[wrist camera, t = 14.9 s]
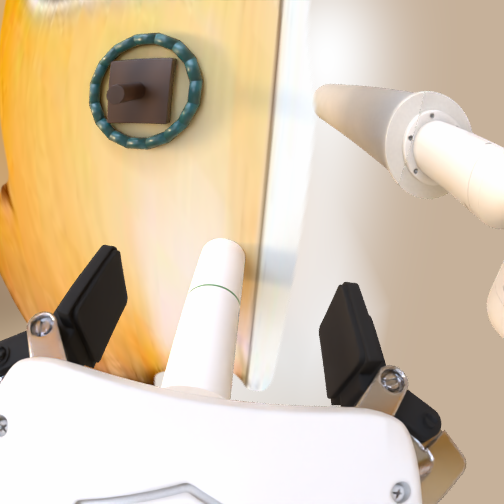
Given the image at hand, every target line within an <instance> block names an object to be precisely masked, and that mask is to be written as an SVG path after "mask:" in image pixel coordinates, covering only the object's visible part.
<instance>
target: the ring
mask: <svg viewBox="0 0 504 504" xmlns="http://www.w3.org/2000/svg"><path fill="white" fill-rule="evenodd" d="M145 44H157V45H160V46H163V47H165V48H168V49H170V50H172V51H173V52H174V53H175V54H176V55H177V56H178V57H179V58H180V59H181V60H182V62H183V63H184V64H185V67H186V71H187V74H188V77H189V81H190V85H189V94H188V102H187V104H186V106H185V107H184V109H183V111H182V113H181V115H180V117H179V119H178V120H177V121H176V122H174V123H173V124H172V125H171V126H170V127H169V128H168V129H167V130H165V131H164V132H162V133H159V134H156V135H154V136H151V137H148V138H138V137H129V136H127V135H125V134H123V133H121V132H119V131H117V130H115V129H114V127H113V126H112V125H111V124H110V123H107V119H106V118H105V116H104V113H103V110H102V107H101V104H100V87H101V82H102V80H103V77H104V75H105V73H106V70H107V68H108V66H109V65H110V64H111V61H114V60H115V59H116V58H117V57H118V56H119V55H120V54H121V53H122V52H124V51H126V50H128V49H130V48H132V47H134V46H136V45H145ZM202 83H203V79H202V76H201V72H200V69H199V66H198V62H197V59H196V57H195V56H194V55H193V54H192V53H191V51H190V50H189V49H188V48H187V47H186V46H185V45H184V44H183V43H182V42H181V41H180V40H177V39H175V38H172V37H169V36H167V35H164V34H161V33H148V34H137V35H134V36H132V37H130V38H128V39H126V40H124V41H122V42H120V43H118V44H116V45H114V46H113V47H112V49H111V50H110V51H109V52H108V53H107V54H106V55H105V56H104V57H103V58H102V59H101V61H100V62H99V63H98V65H97V68H96V70H95V73H94V75H93V77H92V80H91V82H90V96H89V106H90V109H91V112H92V115H93V118H94V121H95V123H96V125H97V126H98V127H99V129H100V130H101V131H102V132H103V133H104V134H105V135H106V137H107V138H108V139H109V140H111V141H113V142H115V143H117V144H119V145H121V146H124V147H126V148H132V149H151V148H154V147H156V146H159V145H162V144H165V143H168V142H170V141H171V140H172V139H174V138H175V137H176V136H177V135H178V134H179V133H181V132H182V131H183V130H184V129H185V128H186V127H188V125H189V123H190V122H191V120H192V118H193V116H194V114H195V112H196V111H197V109H198V107H199V105H200V99H201V91H202Z"/></svg>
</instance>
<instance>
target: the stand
mask: <svg viewBox="0 0 504 504" xmlns="http://www.w3.org/2000/svg"><path fill="white" fill-rule="evenodd" d="M175 65H176V59H174V58H152V59H133V60H121V61H111V66H110V77H109V89H108V91H107V100H108V114H107V123H154V124H167V123H169V122H170V110H171V100H172V90H173V81H174V72H175Z"/></svg>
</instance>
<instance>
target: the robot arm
mask: <svg viewBox="0 0 504 504" xmlns="http://www.w3.org/2000/svg"><path fill="white" fill-rule="evenodd" d="M408 137H409V138H408ZM402 152H403V158H404V161H405V164H406V166H407V168H408V170H409V171H410V173H411V174H412V175H413V176H414V177H415V178H416V179H417V180H419V181H420V182H422V183H424V184H427V185H440V186H441V187H443V188H444V189H445V190H446V191H447V192H449V193H450V194H451V195H452V196H453V197H455V198H456V199H457V200H458V201H459V202H461V203H462V204H463V205H464V206H465V207H466V208H467V209H468V210H470V211H471V212H472V213H473V214H474V215H475V216H476V217H477V218H479V219H480V220H481V221H482V222H483V223H484V224H486V225H488V226H489V227H492V228H495V229H504V148H503V147H501V146H499V145H496V144H495V143H493V142H490V141H488V140H486V139H484V138H482V137H480V136H478V135H475V134H473V133H471V132H468V131H466V130H464V129H461V127H460V126H459V124H458V123H457V121H456V120H455V119H454V118H453V117H452V116H450V115H449V114H447V113H445V112H442V111H439V110H427V111H423V112H421V113H420V114H418V115H417V116H415V117H414V118H413V119H412V121H411V122H410V123H409V125H408V127H407V129H406V131H405V134H404V137H403V144H402ZM414 169H415V170H414ZM127 298H128V297H127V291H126V286H125V280H124V274H123V268H122V262H121V255H120V252H119V251H117V248H116V247H114V246H108V245H103V246H102V247H101V248H100V249H99V250H98V252H97V253H96V254H95V256H94V257H93V258H92V260H91V261H90V262H89V264H88V265H87V266H86V268H85V269H84V270H83V272H82V273H81V274H80V275H79V277H78V278H77V279H76V281H75V282H74V284H73V285H72V287H71V288H70V289H69V291H68V292H67V294H66V295H65V297H64V298H63V300H62V301H61V303H60V304H59V306H58V307H57V309H56V310H55V312H54V314H52V313H50V312H40V313H37V314H35V315H34V316H33V317H32V318H31V319H30V320H29V322H28V324H27V331H25V332H22V333H20V334H17V335H15V336H12V337H10V338H7V339H5V340H2V341H0V504H437V503H438V502H439V501H440V500H441V499H442V498H443V497H444V496H445V495H446V493H447V492H448V491H449V490H450V489H451V488H452V486H453V485H454V484H455V483H456V481H457V480H458V479H459V478H460V476H461V475H462V474H463V472H464V470H465V468H466V459H465V457H464V455H463V454H462V452H461V451H460V450H459V448H458V447H457V446H456V444H455V443H454V442H453V440H452V439H451V438H450V436H449V435H448V434H447V432H446V431H445V430H444V431H442V430H441V419H440V416H439V415H438V413H437V412H436V411H435V410H434V409H432V408H431V407H430V406H429V405H427V404H426V403H425V402H423V401H422V400H421V399H419V398H418V397H417V396H415V395H414V394H413V393H411V392H410V391H409V390H407V388H408V379H407V377H406V375H405V373H404V372H403V371H402V370H400V368H398V367H396V366H392V365H387V366H386V364H385V360H384V357H383V353H382V350H381V347H380V344H379V340H378V337H377V334H376V330H375V327H374V324H373V321H372V318H371V317H370V316H369V315H368V311H367V309H366V306H365V303H364V300H363V297H362V294H361V291H360V288H359V285H358V284H357V283H350V282H344V283H343V285H339V286H338V289H337V291H336V293H335V295H334V297H333V300H332V302H331V304H330V306H329V308H328V310H327V313H326V315H325V317H324V319H323V321H322V323H321V325H320V328H319V336H320V344H321V351H322V358H323V366H324V373H325V382H326V390H327V397H328V398H329V399H331V403H332V405H341V407H327V406H297V405H279V404H266V403H255V402H245V401H237V400H229V399H222V398H215V397H208V396H202V395H196V394H191V393H185V392H180V391H175V390H170V389H166V388H161V387H157V386H152V385H148V384H144V383H140V382H136V381H132V380H129V379H125V378H121V377H118V376H114V375H111V374H107V373H104V372H101V371H97V370H94V369H91V368H88V367H85V366H84V365H86V366H89V367H92V368H94V366H95V364H96V362H97V363H98V362H99V361H100V360H101V357H102V355H103V353H104V351H105V348H106V346H107V344H108V342H109V339H110V337H111V335H112V333H113V331H114V329H115V326H116V324H117V322H118V320H119V318H120V316H121V314H122V312H123V310H124V308H125V306H126V303H127ZM487 314H488V317H489V320H490V322H491V324H492V326H493V327H494V329H495V330H496V331H497V333H498V334H499V335H500V336H501V337H502V338H503V339H504V261H503V263H502V265H501V268H500V270H499V272H498V274H497V276H496V279H495V281H494V283H493V285H492V287H491V290H490V293H489V296H488V299H487Z"/></svg>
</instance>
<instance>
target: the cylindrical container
mask: <svg viewBox="0 0 504 504" xmlns="http://www.w3.org/2000/svg"><path fill="white" fill-rule="evenodd" d="M244 266H245V253H244V251H243V249H242V248H241V247H240V245H238V244H237V243H236V242H234V241H232V240H229V239H224V238H219V239H214V240H211V241H210V242H208V243H207V244H206V245H205V246H204V248H203V250H202V252H201V255H200V258H199V261H198V264H197V268H196V271H195V274H194V277H193V280H192V283H191V286H190V289H189V292H188V296H187V299H186V302H185V305H184V309H183V312H182V315H181V319H180V322H179V325H178V329H177V332H176V336H175V339H174V342H173V346H172V350H171V353H170V357H169V360H168V364H167V368H166V371H165V375H164V379H163V383H162V386H161V388H166V389H170V390H175V391H180V392H185V393H191V394H196V395H202V396H208V397H215V398H222V399H229V400H230V398H231V388H232V378H233V369H234V359H235V350H236V340H237V331H238V322H239V312H240V303H241V294H242V285H243V276H244Z"/></svg>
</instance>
